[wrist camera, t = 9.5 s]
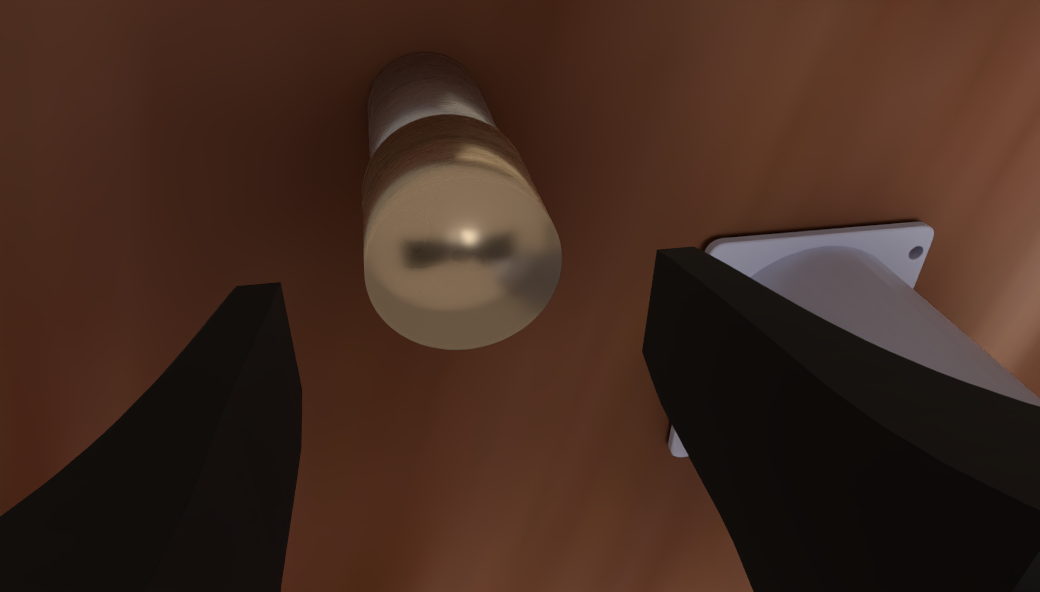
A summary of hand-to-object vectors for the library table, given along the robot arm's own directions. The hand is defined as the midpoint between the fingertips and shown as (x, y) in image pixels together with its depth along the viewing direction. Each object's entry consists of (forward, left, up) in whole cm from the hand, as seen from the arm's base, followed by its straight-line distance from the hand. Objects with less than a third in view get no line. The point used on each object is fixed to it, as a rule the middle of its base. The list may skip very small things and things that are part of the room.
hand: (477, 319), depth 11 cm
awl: (0, 0, -9) cm, 9 cm away
